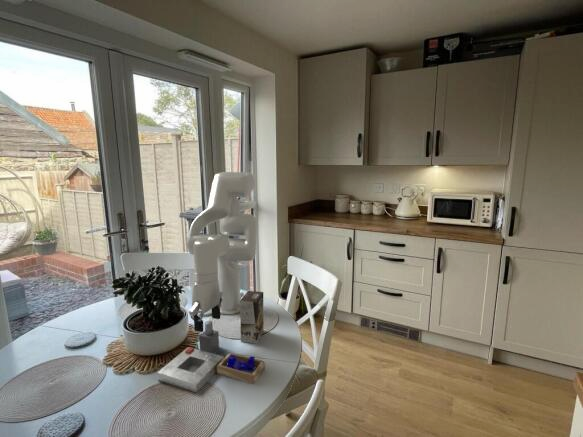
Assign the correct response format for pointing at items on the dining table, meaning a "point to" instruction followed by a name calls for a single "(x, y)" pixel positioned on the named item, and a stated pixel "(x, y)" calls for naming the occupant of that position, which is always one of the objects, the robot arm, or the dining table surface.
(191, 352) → the socket plate
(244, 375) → the tidy tray
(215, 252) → the robot arm
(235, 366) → the cable holder
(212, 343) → the plug
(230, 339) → the dining table surface
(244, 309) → the coffee box
